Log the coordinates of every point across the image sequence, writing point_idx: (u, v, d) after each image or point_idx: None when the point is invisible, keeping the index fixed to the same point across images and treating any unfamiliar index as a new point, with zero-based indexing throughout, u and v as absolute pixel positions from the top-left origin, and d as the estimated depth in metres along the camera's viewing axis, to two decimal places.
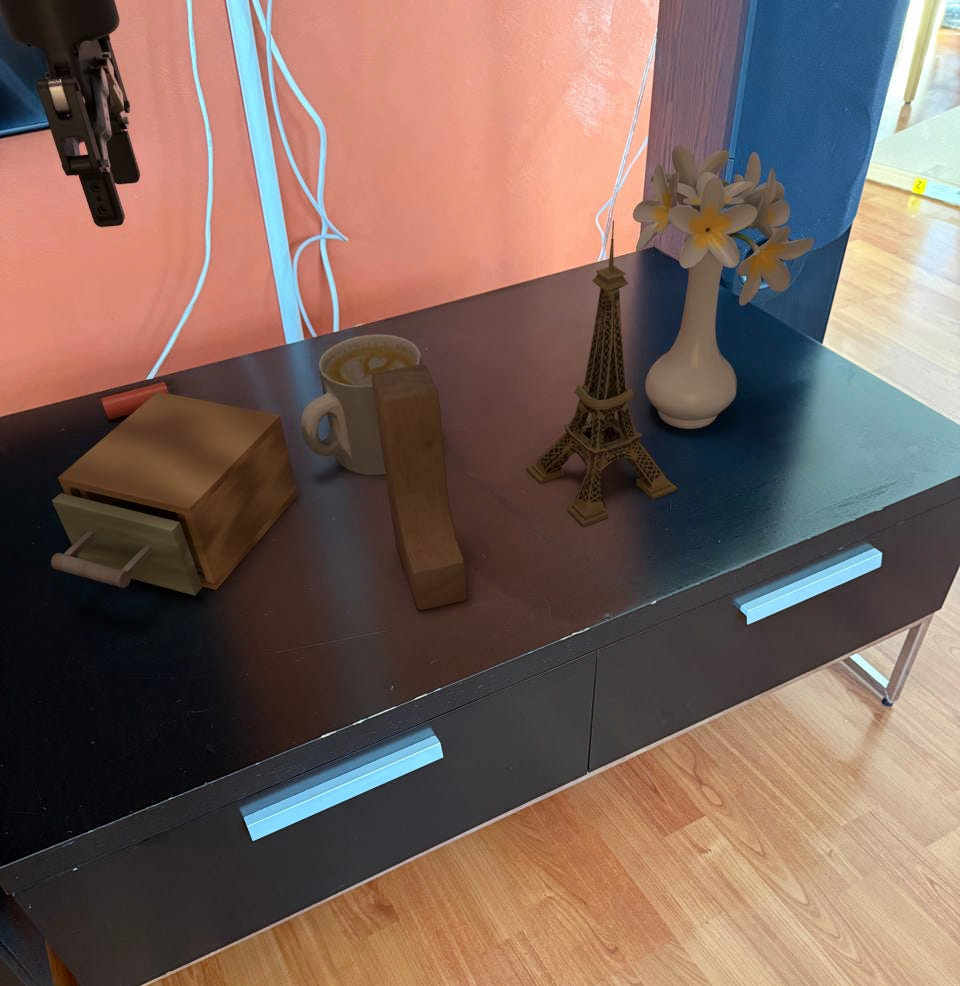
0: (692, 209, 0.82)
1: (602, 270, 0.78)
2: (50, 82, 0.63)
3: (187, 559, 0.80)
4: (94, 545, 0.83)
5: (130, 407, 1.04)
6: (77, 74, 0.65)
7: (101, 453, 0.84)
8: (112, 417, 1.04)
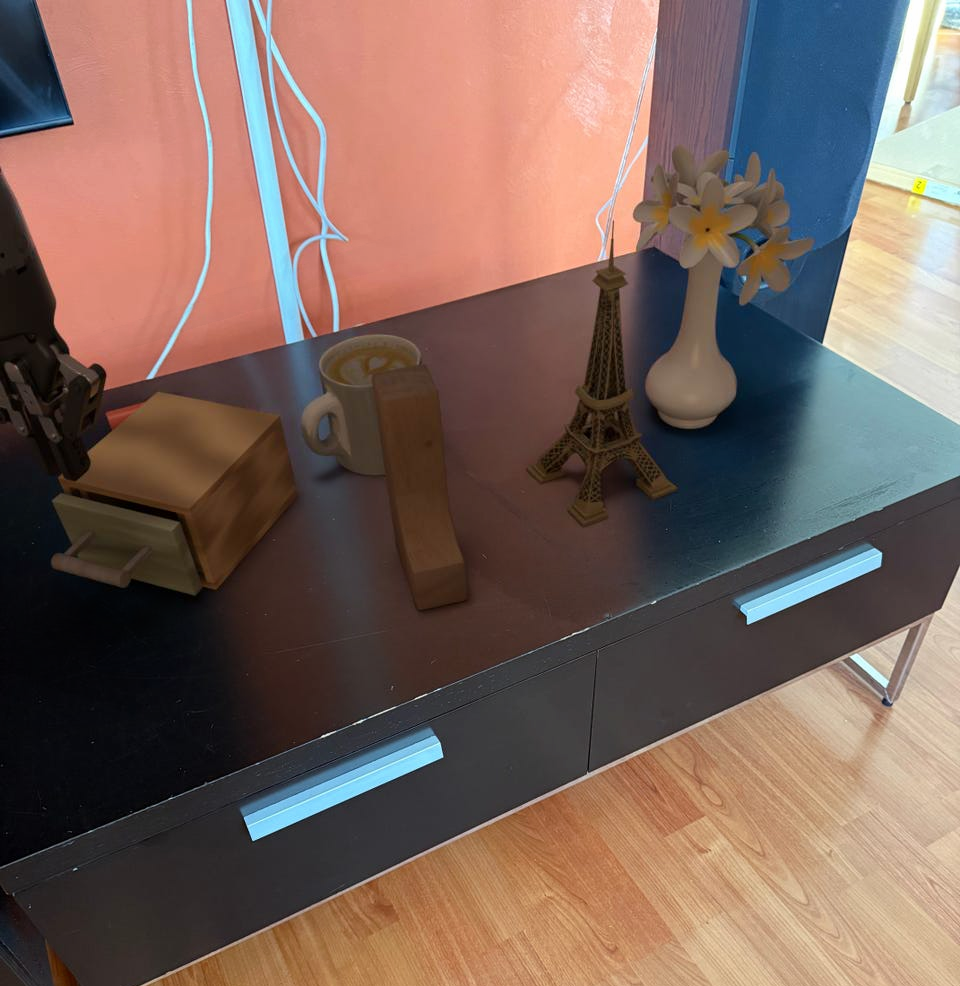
0: (692, 209, 0.82)
1: (602, 271, 0.78)
2: (91, 381, 0.65)
3: (187, 559, 0.80)
4: (94, 545, 0.83)
5: None
6: None
7: (101, 453, 0.84)
8: None
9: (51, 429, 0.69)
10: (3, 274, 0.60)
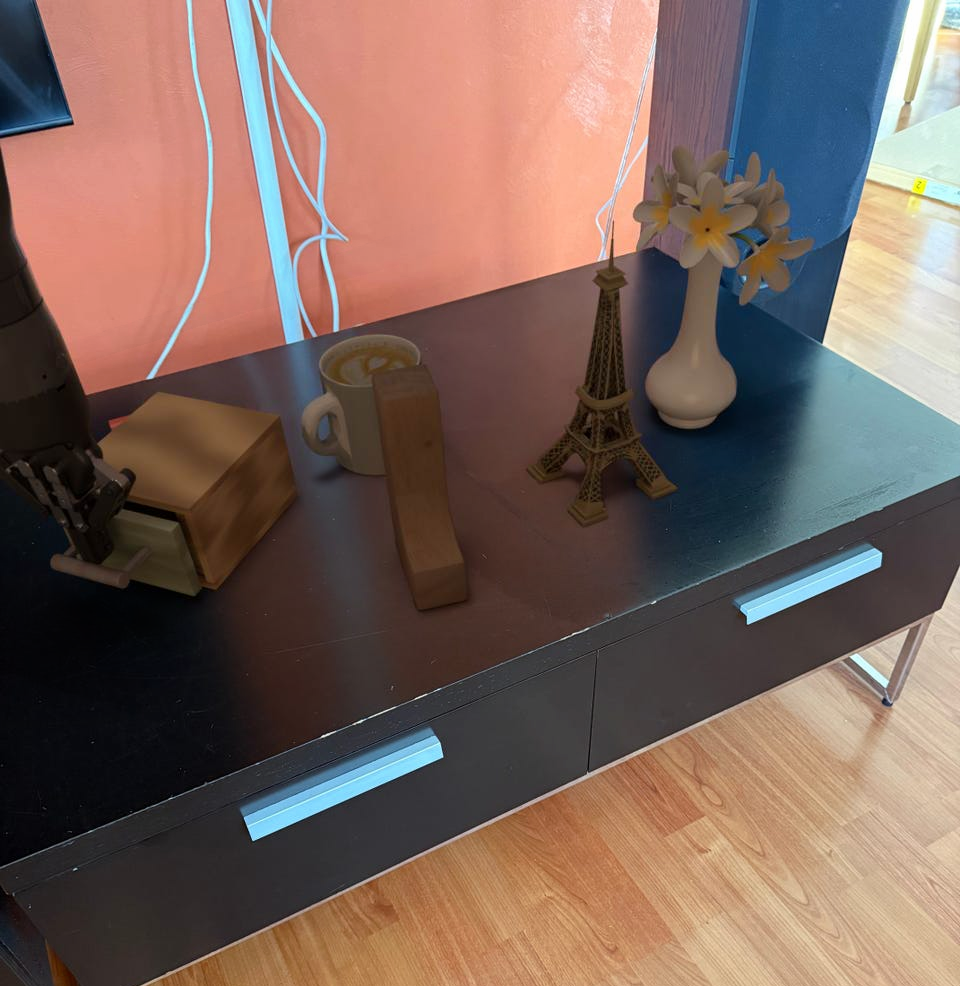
0: (692, 209, 0.82)
1: (602, 271, 0.78)
2: (122, 486, 0.71)
3: (186, 560, 0.80)
4: None
5: None
6: None
7: None
8: (113, 421, 1.00)
9: (78, 520, 0.74)
10: (45, 393, 0.65)
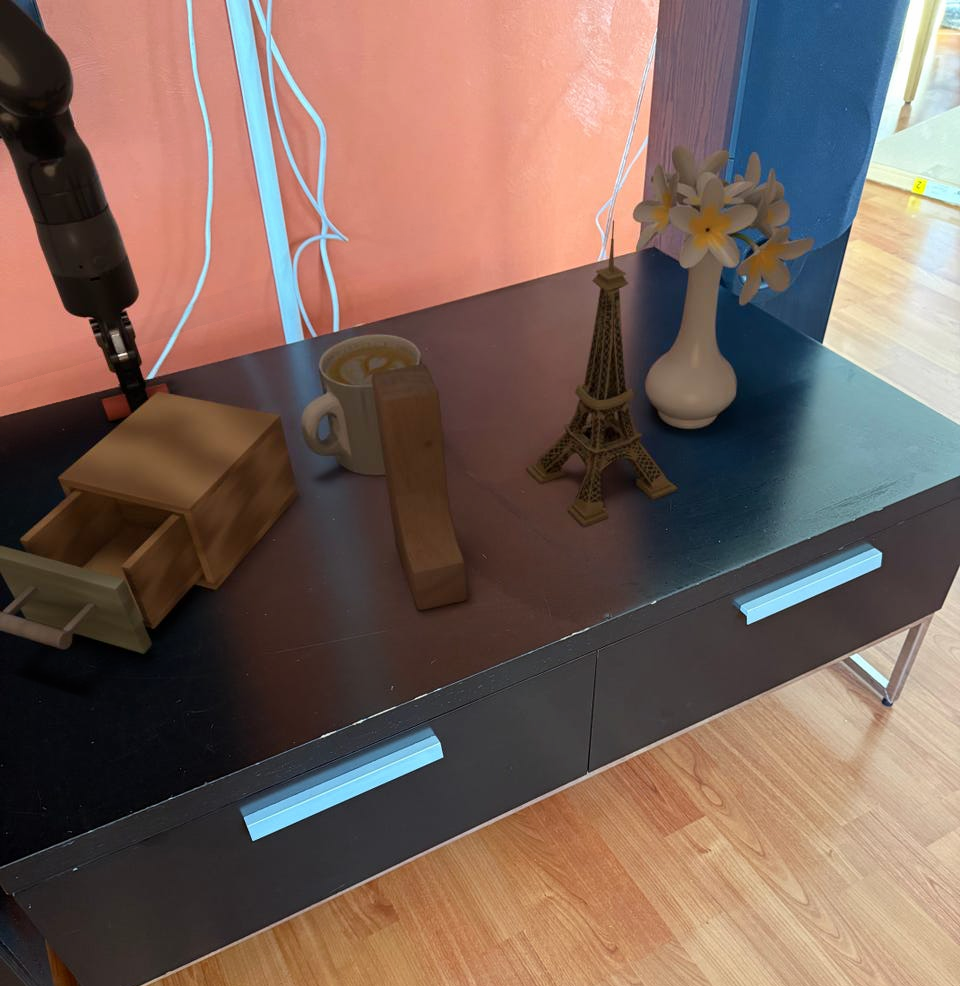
0: (692, 209, 0.82)
1: (602, 270, 0.78)
2: (121, 358, 0.95)
3: (134, 617, 0.76)
4: (37, 600, 0.78)
5: None
6: (123, 331, 0.95)
7: (101, 453, 0.84)
8: None
9: None
10: (80, 278, 0.91)
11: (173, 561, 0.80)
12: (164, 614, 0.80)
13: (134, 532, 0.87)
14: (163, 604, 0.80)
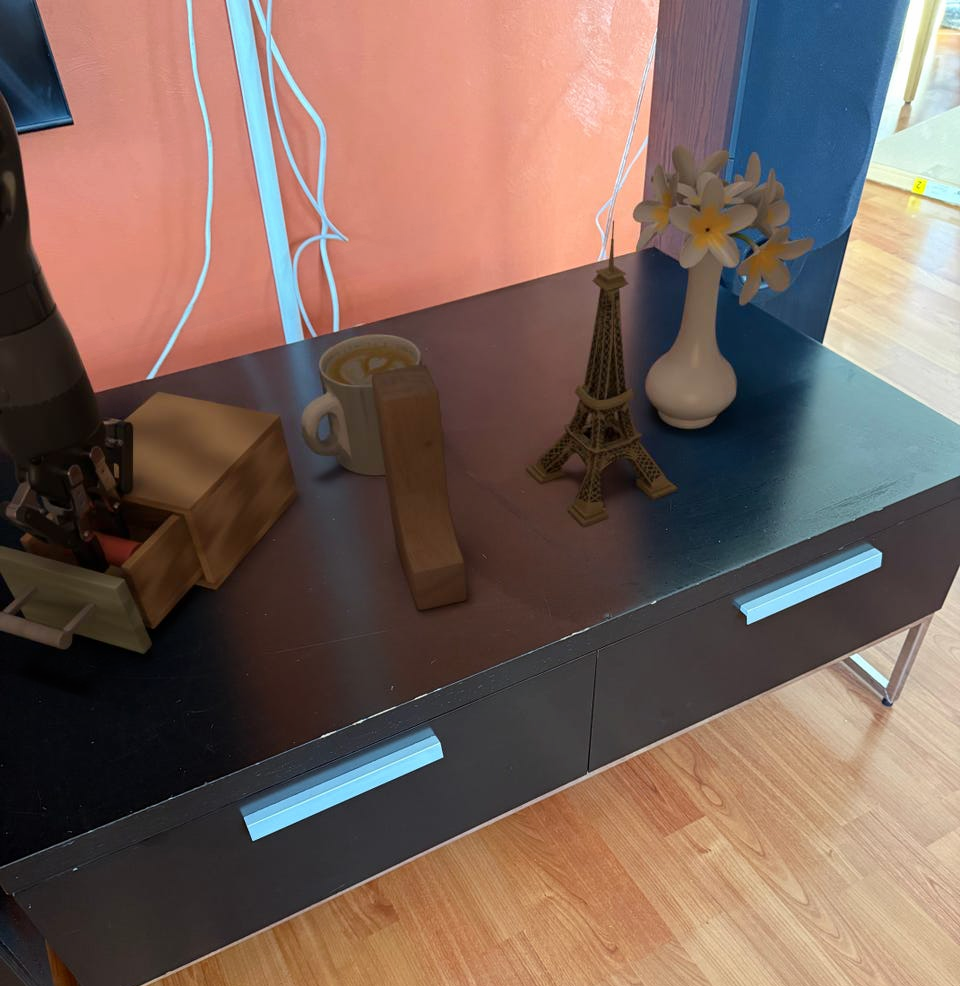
0: (692, 209, 0.82)
1: (602, 271, 0.78)
2: (8, 513, 0.69)
3: (134, 617, 0.76)
4: (37, 600, 0.78)
5: None
6: (34, 480, 0.69)
7: None
8: None
9: None
10: None
11: (173, 561, 0.80)
12: (164, 614, 0.80)
13: (134, 532, 0.87)
14: (163, 604, 0.80)
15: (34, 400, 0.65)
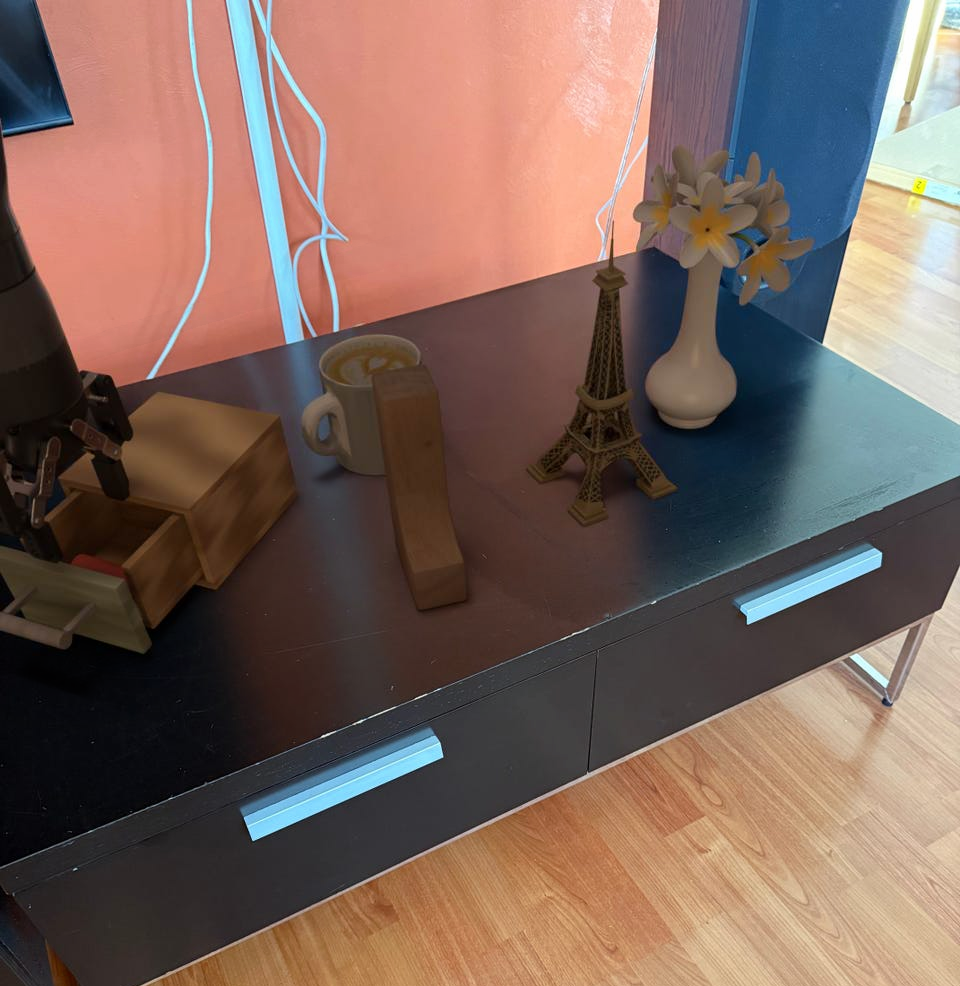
0: (692, 209, 0.82)
1: (602, 271, 0.78)
2: None
3: (134, 617, 0.76)
4: (37, 600, 0.78)
5: None
6: (11, 451, 0.67)
7: None
8: None
9: None
10: None
11: (173, 561, 0.80)
12: (164, 614, 0.80)
13: (134, 532, 0.87)
14: (163, 604, 0.80)
15: (11, 366, 0.63)
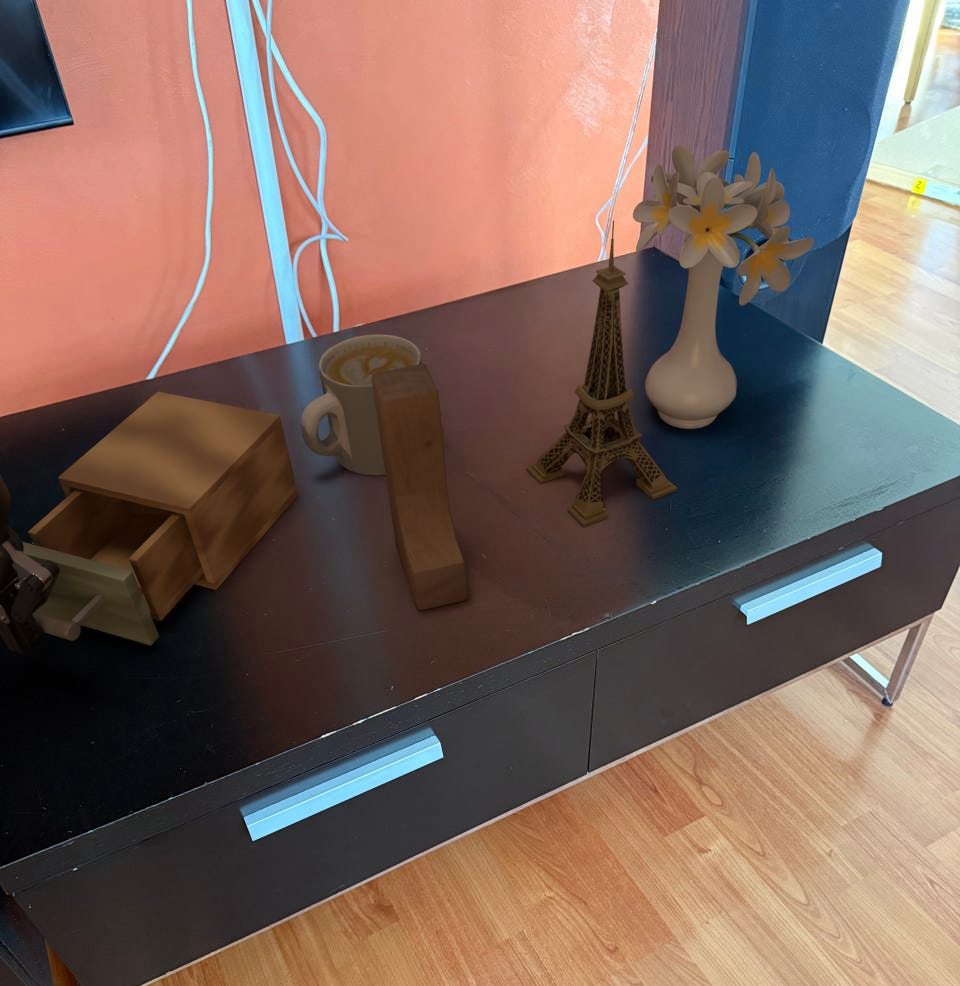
0: (692, 209, 0.82)
1: (602, 271, 0.78)
2: (44, 580, 0.66)
3: (141, 609, 0.76)
4: None
5: None
6: (19, 539, 0.65)
7: (101, 453, 0.84)
8: None
9: (0, 612, 0.69)
10: None
11: (180, 554, 0.80)
12: (171, 606, 0.81)
13: (141, 526, 0.88)
14: (170, 596, 0.80)
15: None
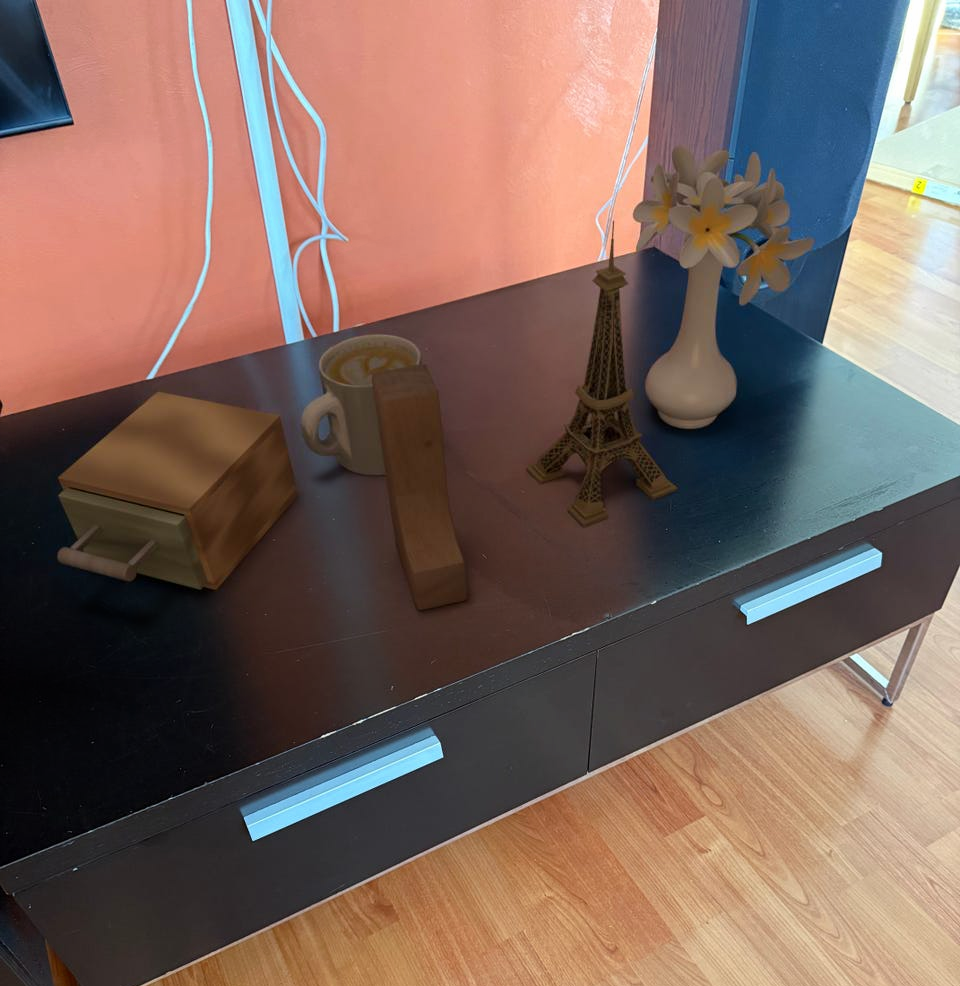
0: (692, 209, 0.82)
1: (602, 271, 0.78)
2: None
3: (192, 553, 0.81)
4: (100, 539, 0.84)
5: None
6: None
7: (101, 453, 0.84)
8: None
9: None
10: None
11: None
12: None
13: None
14: None
15: None
